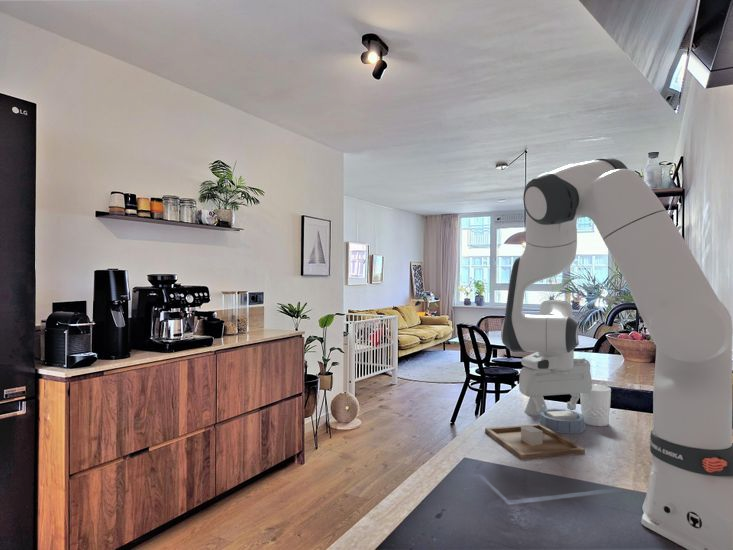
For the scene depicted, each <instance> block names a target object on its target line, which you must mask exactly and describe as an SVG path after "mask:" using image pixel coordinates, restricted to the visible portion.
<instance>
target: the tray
mask: <svg viewBox="0 0 733 550" xmlns="http://www.w3.org/2000/svg"><path fill="white" fill-rule="evenodd" d="M527 426H533V427H535V428H537V429H540V430H542V431H543V444H540V445H533V446H531V445H530V444H528V443H526V442H524V441H522V440H521V427H527ZM484 433H485V434H487V435H488V436H489V437H491V438H492V439H494V440H495V441H496V442H497V443H499V444H500V445H502V446H503V447H504V448H505V449H507V450H509V452H510V453H512V454H513V455H514V456H515V457H517V458H519V459H520V460H521V461H522V460H531V459H543V458H552V457H553V458H554V457H562V456H563V457H564V456H565V457H566V456H572V455H573V456H574V455H583V454H585V452H586V450H585V449H586V448H584V447H582V446H581V445H579V444H577V443H575V442H573V441H572V440H570V439H568V438H566V437H564V436H562V435H560V434H559V433H558V432H555V431H552V430H550V429H548V428H547V427H545V426H543V425H541V424H540V423H536V424H535V423H534V424H532V423H531V424H524V425H523V424H521V425H508V426H498V427H485V428H484Z"/></svg>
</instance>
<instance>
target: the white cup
mask: <svg viewBox="0 0 733 550" xmlns="http://www.w3.org/2000/svg"><path fill="white" fill-rule="evenodd" d="M611 392H612V389H611V387H610V386H607V385H603V384H596V383H595V384H594V383H592V390H591V391H590V393H580V398H579V399H580V402H579V403H580V411H581V414H582V415H583V416H584V424H586V425H588V426H593V427H607V426H609V424H610V411H611V398H612V397H611V396H612V393H611Z"/></svg>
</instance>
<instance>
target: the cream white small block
mask: <svg viewBox="0 0 733 550" xmlns="http://www.w3.org/2000/svg"><path fill="white" fill-rule="evenodd" d="M521 440H522V441H524V442H526V443H528V444H530V445H531V446H533V445H540V444H543V431H542V430H540V429H537V428H535V427H533V426H527V427H521Z"/></svg>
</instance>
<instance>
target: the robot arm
mask: <svg viewBox="0 0 733 550" xmlns="http://www.w3.org/2000/svg"><path fill="white" fill-rule="evenodd" d="M522 200H523V201H522V202H523V206H524V210H525V212H526V221H525V246H524V247H525V248H524V250H523V253H522V255H521V256H519V257H517V258H516V259H515V260H514V262H513V265H512V267H511V272H510V277H509V284H508V292H507V299H506V307H505V313H504V319H503V321H502V324H501V330H500V337H501V342H502V345H504V346H505V347H506V348H507V349H509V351H511V353H526V352H528V353H529V352H531V354H529V355H526V356H524V357H522V358H521V365H522V366H523V367H521V369H520V371H519V378H518V379H519V380H518V389H519V392H520V393H521V394H522V395H523V396H525V397H527V398H528V397H529V398H530V397H532V399H533V401H534V402H535V404H536V411H537V412H544V411H545V410H544V408H545V406H544V405H542V404H541V403H540V401H539V400H541V396H543V397H545V396H560V395H570V396H571V398H570V400H569V401H567V402H566V405H567V406H566V407H567V410H570V411H576V409H577V403H578V401H579V399H580V393H590V391H591V390H592V384H593V379H592V374H591V364H590V361H588V359H587V360H586V358H583V357H581V358H575V356H574V355H575V353H574V350H575V348H577V347H578V346H579V344H580V342H579V323H578V322H576V321H575V320H574V316H573V309H572V308H573V307H572V304H571V303H570V302H568V301H566V300H561V299H559V300H558V299H549V300H544V301H542V302H541V303H540V308H539V313H538V314H530V313H525V312H523V308H524V307H523V306H524V298H525V293H526V290H527V289H528V288H529V287H530V286H531V285H534V284H535V283H538V282H540V281H543V280H546V279H549V278H554V277H555V276H558V275H560V274H562V273H563V272H565V271H566V270H567V269H568V268H570V266H572V264H573V263H574V261H575V259H576V256H577V249H578V229H577V221H578V219H580V218H589V219H590V220H591V221H592V222H593V223H594V225H595V226H596V229H597V230H598V233H599V235H600V236H601V239H602V240H603V242H604V244H605V246H606V248H607V250H608V251H609V254H610V255H611V256H612V258H613V260H614V262H615V264H616V266H617V267H618V270H619V272H621V275H622V276H623V279H624V281H625V283H626V285H627V288H628V290H629V292H630V294H631V297H632V300H633V302H634V304H635V307H636V308H637V311H638V313H639V316H640V317H641V320H642V321H643V323H644V325H645V328H646V329H647V331H648V334H649V336H650V339H652V341H653V343H654V345H655V349H656V350H655V363H654V364H655V367H654V379H653V387H652V388H653V389H652V390H653V391H652V392H653V393H652V399H653V401H652V402H653V403H652V405H653V407H652V411H653V413H652V418H653V419H652V420H653V421H652V425H653V426H652V427H653V428H652V429H651V431H650V434H649V435H650V438H649V452H650V453H651V454H652V455H651V457H652V460H651V465H650V471H649V475H648V483H647V490H646V493H645V494H646V495H645V498H644V502H643V504H642V512H643V513H642V515H641V521H640V522H641V524H642V526H644V527H645V528H648V529H649V530H651V531H653V532H655V533H656V534H658V535H661V536H662V537H664V538H666V539H668V540H670V541H672V542H674V543H675V544H677V545H679V546H681V547H683V548H685V549H686V550H733V360H732V359H733V353H732V352H733V347H732V346H733V322H732V316H731V314H730V311H729V310H728V308H727V307H726V305H725V304H724V303H723V302H722V301H721V300H720V299H719V297H718V295H717V294H716V292H715V291H714V288H713V286H712V285H711V284H710V281H709V280H708V278H707V277H706V275H705V273H704V271H703V270H702V268H701V266H700V265H699V262H698V261H697V260H696V258H695V255H694V254H693V252H692V250H691V249H690V247H689V245H688V244H687V242H686V241H685V238H684V237H683V236H682V234H681V233H680V230H679V229H678V227H677V226H676V224H675V222H674V221H673V219H672V218H671V215H669V213H668V211H667V210H666V208H665V206H664V205H663V203H662V202H661V200H660V199H659V198H658V196H657V195H656V194H655V192H654V191H653V189H652V188H651V187H650V186H649V185H648V184H647V183H646V181H645V180H644V179H642V177H641V176H640V175H639V174H638V173H637V172H635V171H634V170H632V169H629V168H628V167H627V166H626V164H624V163H623V162H622V161H621V160H620V159H617V158H611V157H600V158H596V159H592V160H590V161H583V162H579V163H575V164H574V163H570V164H568V165H564V166H562V167H559V168H556V169H554V170H552V171H549V172H544V173H543V172H542V173H541V174H539V175H537V176H535V177H534V178H532V179H531V180H529V181H528V183H527V184H526V185H525V187H524V190H523V197H522Z"/></svg>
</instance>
